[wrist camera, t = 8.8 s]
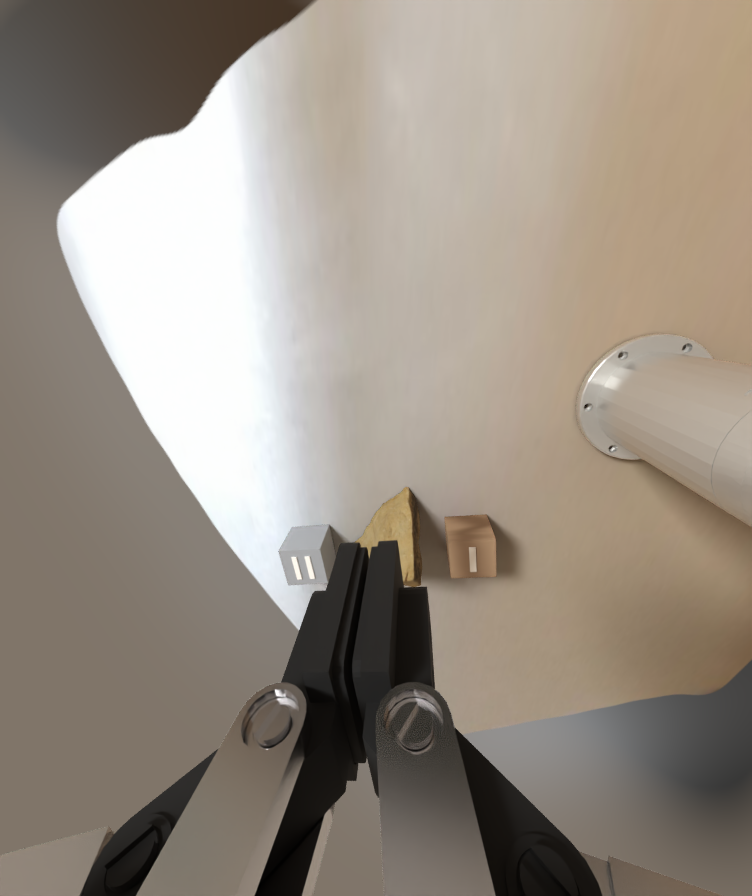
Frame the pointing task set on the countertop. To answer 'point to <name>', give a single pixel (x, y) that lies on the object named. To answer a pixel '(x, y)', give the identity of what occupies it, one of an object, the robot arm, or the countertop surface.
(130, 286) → the countertop surface
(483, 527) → the walnut block
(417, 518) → the rock
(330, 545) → the grey block
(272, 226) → the countertop surface
